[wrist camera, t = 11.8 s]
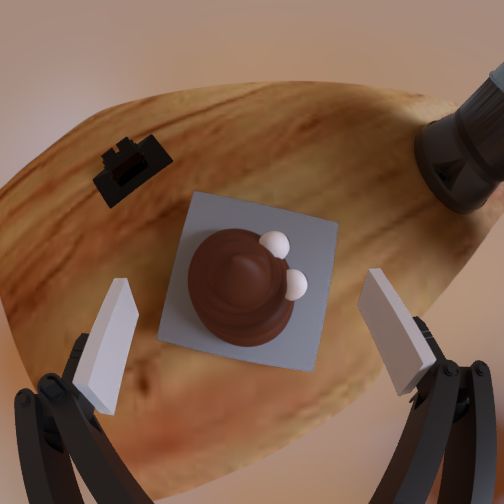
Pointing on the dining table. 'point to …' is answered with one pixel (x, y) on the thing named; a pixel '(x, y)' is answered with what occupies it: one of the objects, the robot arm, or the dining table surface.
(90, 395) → the robot arm
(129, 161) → the black mounting bracket
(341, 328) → the dining table surface
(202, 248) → the poop emoji
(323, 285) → the grey block
